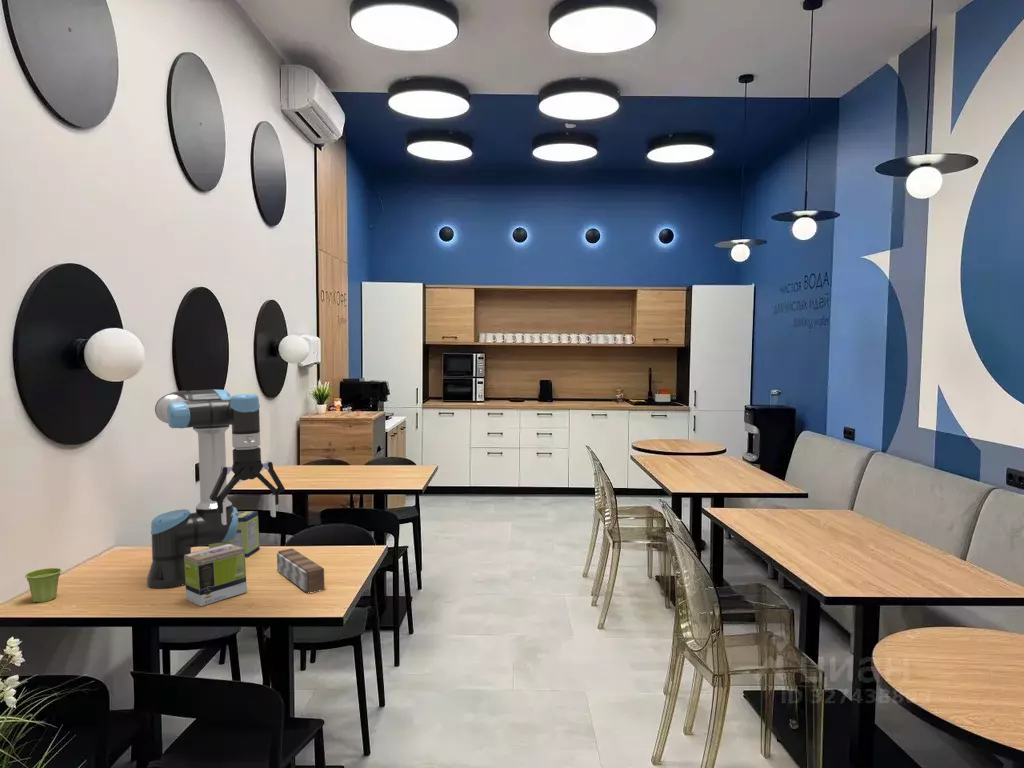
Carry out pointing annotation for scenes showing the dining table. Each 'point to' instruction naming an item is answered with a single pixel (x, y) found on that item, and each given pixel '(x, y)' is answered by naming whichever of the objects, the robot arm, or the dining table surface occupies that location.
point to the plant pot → (43, 584)
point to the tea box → (215, 574)
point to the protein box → (245, 533)
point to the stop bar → (300, 570)
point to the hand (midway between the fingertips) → (249, 520)
